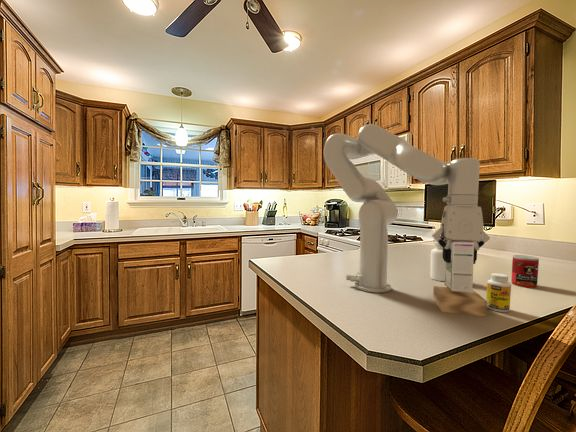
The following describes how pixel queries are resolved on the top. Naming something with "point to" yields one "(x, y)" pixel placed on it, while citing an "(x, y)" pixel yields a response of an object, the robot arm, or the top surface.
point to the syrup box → (460, 267)
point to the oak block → (459, 301)
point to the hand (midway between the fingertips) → (459, 261)
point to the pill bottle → (437, 263)
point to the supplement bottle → (498, 293)
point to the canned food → (525, 271)
